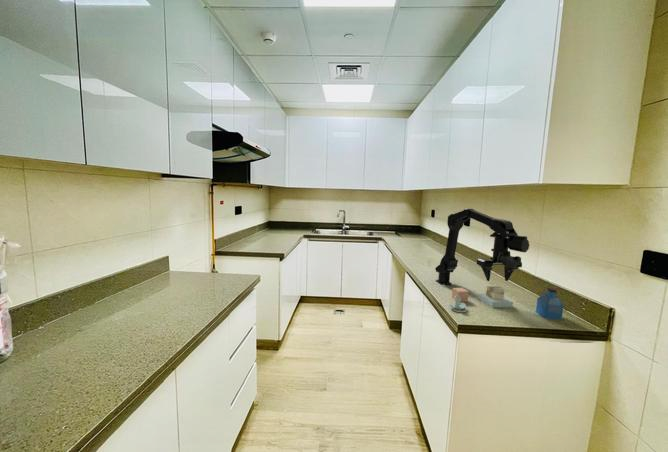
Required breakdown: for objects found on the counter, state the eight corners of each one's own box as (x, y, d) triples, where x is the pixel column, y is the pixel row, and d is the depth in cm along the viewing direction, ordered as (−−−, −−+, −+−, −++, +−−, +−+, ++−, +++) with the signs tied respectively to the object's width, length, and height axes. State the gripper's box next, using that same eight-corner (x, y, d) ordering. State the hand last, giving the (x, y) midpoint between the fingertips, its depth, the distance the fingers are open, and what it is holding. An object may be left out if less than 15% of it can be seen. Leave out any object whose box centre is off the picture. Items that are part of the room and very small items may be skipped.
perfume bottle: (550, 313, 115) (554, 286, 114) (561, 319, 109) (565, 291, 108) (535, 312, 116) (539, 285, 115) (545, 318, 110) (549, 290, 108)
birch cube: (486, 295, 127) (487, 285, 126) (495, 295, 128) (496, 285, 127) (493, 299, 122) (494, 289, 121) (503, 299, 123) (504, 288, 122)
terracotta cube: (451, 297, 129) (452, 287, 129) (461, 297, 130) (462, 287, 129) (457, 301, 124) (458, 291, 124) (467, 301, 125) (468, 291, 124)
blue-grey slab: (477, 299, 129) (478, 293, 129) (496, 299, 130) (497, 293, 130) (491, 308, 119) (492, 301, 119) (512, 308, 120) (513, 301, 120)
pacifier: (470, 312, 114) (460, 306, 119) (472, 298, 113) (461, 293, 118) (456, 314, 112) (446, 307, 117) (458, 300, 111) (448, 294, 116)
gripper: (494, 251, 113) (490, 287, 114) (534, 251, 115) (529, 286, 117) (477, 246, 124) (474, 278, 125) (514, 246, 126) (510, 278, 128)
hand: (497, 280), depth 123 cm, fingers open, 9 cm apart
